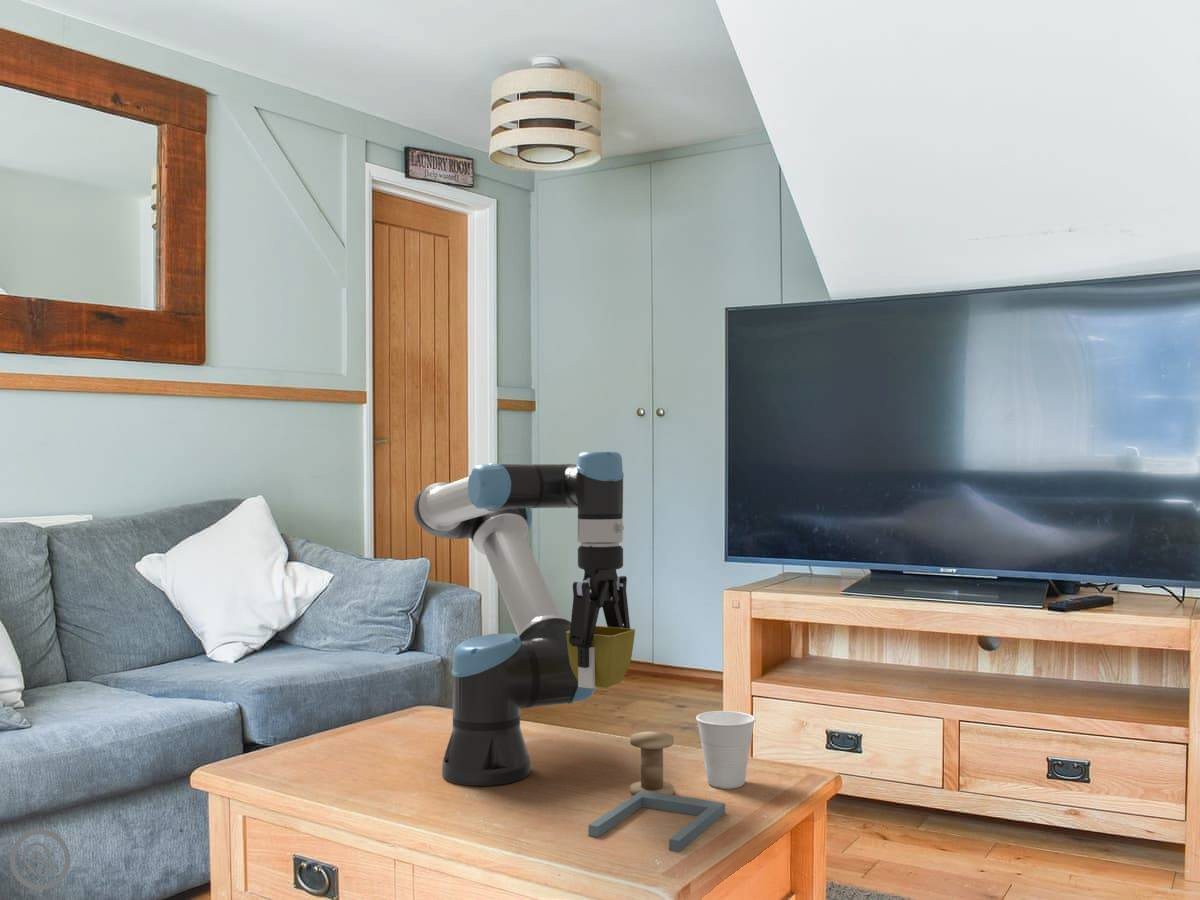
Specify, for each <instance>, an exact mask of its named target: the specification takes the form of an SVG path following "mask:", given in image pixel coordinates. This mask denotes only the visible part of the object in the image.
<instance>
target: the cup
mask: <svg viewBox="0 0 1200 900" xmlns="http://www.w3.org/2000/svg"><path fill="white" fill-rule="evenodd" d="M695 719H696V722H697V725H698V733H699V738H700V739H699V740H700V742H701V748H702V749H701V750H702V755H703V761H704V766H705V767H704V768H705V775H706V780H707V783H708V784H709V785H710V786H711V787H713V788H717V789H725V790H732V789H737V788H741V787H742V786H743V785H744V784H745V783H746V777H747V768H748V763H749V756H750V755H749V754H750V750H751V749H750V748H751V744H752V737H753V730H754V724H755V722H756V717H755V716H753V715H752V714H749V713H746V712H741V711H733V710H713V711H705V712H702V713H698V714H697V715H696V717H695Z"/></svg>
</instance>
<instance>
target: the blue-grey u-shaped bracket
mask: <svg viewBox="0 0 1200 900" xmlns="http://www.w3.org/2000/svg"><path fill="white" fill-rule="evenodd" d="M641 808H649V809H654V810H661V811H665V812H667V811H668V812H672V813H673V812H674V813H679V814H686V815H691V816H692V815H693V816H696V817H695V818H693V819H692V820H691V821H690V822H688V823H687V824H686V825H684V826H683V827H682V828H681V829H680V830H678V831H677V832H676V833H675V834H673V835H672V836H671V837H670V838H668V850H669V851H673V852H678V853H680V851H682V850H683V849H684V848H685V847H687V846H688V845H690V843H692V842H693V841H694V840H695V839H696V838H697V837H699V836H700V835H701V834H702V833H704V831H706V830H707V829H708V828H710V827H711V826H712V825H713V824H714V823H715V822H716V821H718V820H719V819H720V818H722V816H723V815H724V814H726V802H721V801H715V800H714V801H713V800H708V799H707V800H706V799H700V798H695V797H690V796H689V797H688V796H687V797H686V796H682V795H676V794H675V795H674V794H673V795H669V794H662V793H656V792H649V791H643V790H641V791H640V792H638V793H637V794H635V795H634V796H632V795H631V797H629V798H627V799H626V800H624V801H623V802H621V803H620V804H618V805H616V806H615V807H614V808H612V809H611V810H609V811H608V812H606V813H604V814H603V815H602V816H600V817H599V818H596V820H594V821H592V822H590V823H589V824H588V833H587V834H588V836H587V837H589V836H590V837H595V838H599V837H601V836H602V835H603V834H605V833H606V832H607V831H609V830H610V829H612V828H613V827H615V826H617V825H618V824H620V823H621V822H623V821H624V820H625V819H626V818H628V817H629V816H631V815H632V814H634V813H635V812H636V811H638V810H640V809H641Z"/></svg>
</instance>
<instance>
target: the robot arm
mask: <svg viewBox="0 0 1200 900" xmlns="http://www.w3.org/2000/svg"><path fill="white" fill-rule="evenodd" d="M624 476H625V475H624V472H623V458H622V456H621V454H620V453H619V452H617V451H582V452H580V453H579V454H578V456H577V462H576V464H573V463H567V464H565V463H559V464H558V463H557V464H553V463H552V464H550V463H549V464H548V463H547V464H545V463H542V464H539V463H538V464H516V463H515V464H513V463H512V464H507V463H506V464H505V463H502V464H501V463H497V462H496V463H495V462H493V463H485V464H478V465H475V466H474V467H472V469H471V472H470V473H469V475H468V476H467V477H464V478H461V479H458V480H456V481H449V482H448V481H447V482H442V481H441V482H436V483H432V484H430V485H427V486H425V487H424V488H423V489H422V490H421V491H419V493H418V494H417V495H416V497H415V500H414V502H413V515H414V518H415V520H416V522H417V524H418V525H419V527H420V528H421V529H423V531H425V532H426V533H428V534H430V535H431V536H435V537H437V538H441V539H448V540H449V539H450V540H451V539H452V540H453V539H454V540H458V539H459V540H460V539H471V541H472V543H473V546H474V548H475V549H476V551H477V552H479V553H481V554H483V555H485V556H486V559H487V561H488V563H489V566H490V568H491V571H492V573H493V576H494V578H495V581H496V583H497V586H498V589H499V591H500V593H501V596H502V598H503V601H504V603H505V606H506V609H507V610H508V614H509V616H510V619H511V621H512V624H513V626H514V628H515V631H516V634H515V633H511V632H502V633H497V634H496V633H490V634H484V635H478V636H475V637H471V638H468V639H466V640H462V642H460V643H459V644H458V645H457V646H456V647H455V648H454V651H453V655H452V657H453V658H452V659H453V660H452V668H451V676H452V731H451V733H450V737H449V740H448V743H447V745H446V748H445V749H446V750H445V753H444V757H443V759H442V764H441V765H442V766H441V767H442V772H441V774H442V777H443V778H444V780H446V781H448V782H451V783H453V784H454V783H455V784H457V785H458V784H459V785H464V786H477V787H480V786H481V787H482V786H483V787H486V786H487V787H488V786H498V785H505V784H510V783H515V782H518V781H522V780H523V779H525V778H527V777H528V776H529V775H530V774H531V758H530V755H529V752H528V748H527V746H526V745H527V744H526V742H525V738H524V735H523V732H522V730H521V710H522V709H529V708H537V707H544V706H547V707H548V706H553V705H555V706H556V705H562V704H568V705H571V704H573V703H577V702H582V701H587V700H588V699H589V698H590V697H591V696H593V694H594V693H595V691H596V688H597V687H596V686H595V647H591V645H592V641H593V636H594V632H595V627H596V626H597V622H598V617H599V613H600V609H601V608H602V611H603V615H604V619H605V622H606V626H607V627H619V628H629V629H631V625H630V615H629V612H630V611H629V605H628V595H627V584H628V582H627V581H628V578H627V576H626V575H618V573H617V570H619V569H622V568H623V566H624V548H623V546H622V545H620V543H623V540H624V537H623V536H624V532H623V531H624V529H625V526H624V522H623V518H624V517H623V515H624V509H623V508H624V478H625V477H624ZM554 508H555V509H561V508H562V509H563V508H565V509H566V508H567V509H572V508H573V509H575V508H577V542H578V543H579V544H580V545H579V546H578V548H577V567H578V568H579V569H581V570H583V571H584V574H583V575H584V576H583V579H582V580H581V581H574V582H573V583H572V592H573V593H572V595H573V598H572V599H573V601H572V610H571V620H569V619H567V618H565V617H563V616H561V615H560V612H559V611H558V608H557V606H556V603H555V602H554V599H553V598H552V595H551V592H550V589H549V588H548V586H547V584H546V582H545V579H544V576H543V574H542V572H541V569H540V568H539V565H538V564H537V561H536V559H535V556H534V554H533V552H532V550H531V547H530V545H529V543H528V540H527V539H526V538H527V536H528V532H529V531H530V527H531V525H532V518H533V514H532V510H531V509H554ZM567 631H570V637H569V643H570V644H571V645H572V646H577V648H578V680H577V679H576V677H575V675H574V673H573V671H572V669H571V666H570V662H569V655H568V647H567V637H566V632H567Z"/></svg>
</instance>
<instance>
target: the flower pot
mask: <svg viewBox="0 0 1200 900" xmlns="http://www.w3.org/2000/svg"><path fill="white" fill-rule="evenodd" d="M635 635H636V629H635V628H630V629H629V628H619V627H607V625H596V627H595V632H594V636H593V641H592V645H591V647H595V686H596V688H597V687H598V688H603V689H608V688H610V687H612V686H615V685H617V684H620V683H621V682H622V680H623V679H624V677H625V675H626V674H627V672H628V670H629V667H630V664H631V662H632V656H633V649H634V642H635ZM566 637H567V647H568V655H569V662H570V666H571V669H572V671H573V673H574V675H575V677H576V679H577V680H578V648H577V646H572V645H571V644H570V643H569V637H570V631H567V632H566Z"/></svg>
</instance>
